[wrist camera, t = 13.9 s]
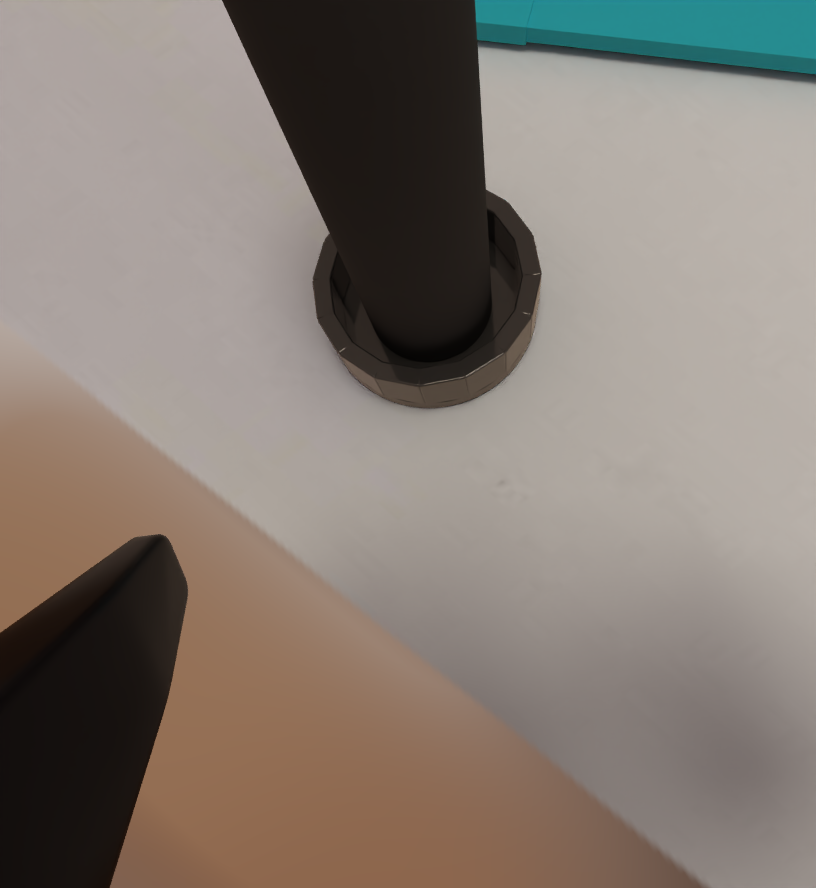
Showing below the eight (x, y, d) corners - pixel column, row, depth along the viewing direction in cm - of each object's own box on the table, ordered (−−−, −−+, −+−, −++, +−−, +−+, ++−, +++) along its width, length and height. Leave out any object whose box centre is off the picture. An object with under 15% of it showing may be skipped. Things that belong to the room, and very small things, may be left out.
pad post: (499, 353, 23) (451, -866, 4) (375, 370, 24) (-174, -659, 5) (484, 240, 25) (389, -1134, 5) (365, 259, 25) (-114, -945, 6)
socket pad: (397, 448, 24) (384, 428, 21) (297, 287, 26) (275, 252, 23) (578, 335, 24) (586, 302, 21) (464, 183, 26) (460, 138, 23)
